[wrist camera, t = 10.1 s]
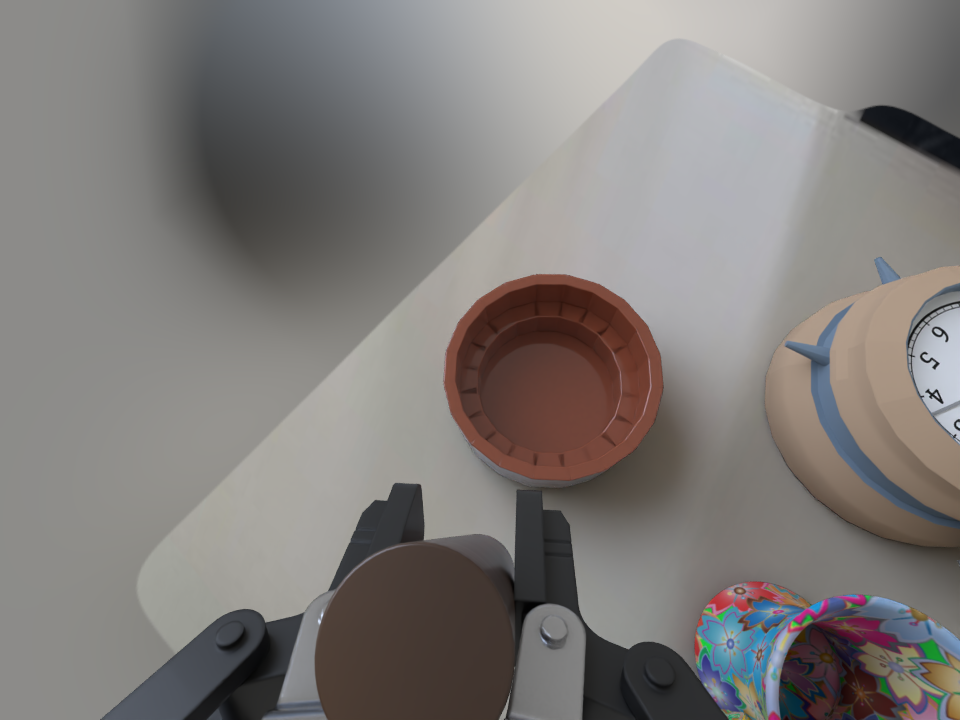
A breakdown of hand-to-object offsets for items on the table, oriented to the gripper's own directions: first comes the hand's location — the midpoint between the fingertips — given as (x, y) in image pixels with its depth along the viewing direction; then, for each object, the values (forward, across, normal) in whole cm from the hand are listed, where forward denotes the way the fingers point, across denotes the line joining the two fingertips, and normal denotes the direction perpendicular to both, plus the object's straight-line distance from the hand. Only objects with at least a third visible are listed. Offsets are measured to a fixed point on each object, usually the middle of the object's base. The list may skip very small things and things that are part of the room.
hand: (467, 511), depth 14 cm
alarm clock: (+19, -29, +10) cm, 36 cm away
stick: (+2, 0, +5) cm, 6 cm away
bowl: (+21, -3, +8) cm, 22 cm away
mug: (+9, -16, +20) cm, 27 cm away
